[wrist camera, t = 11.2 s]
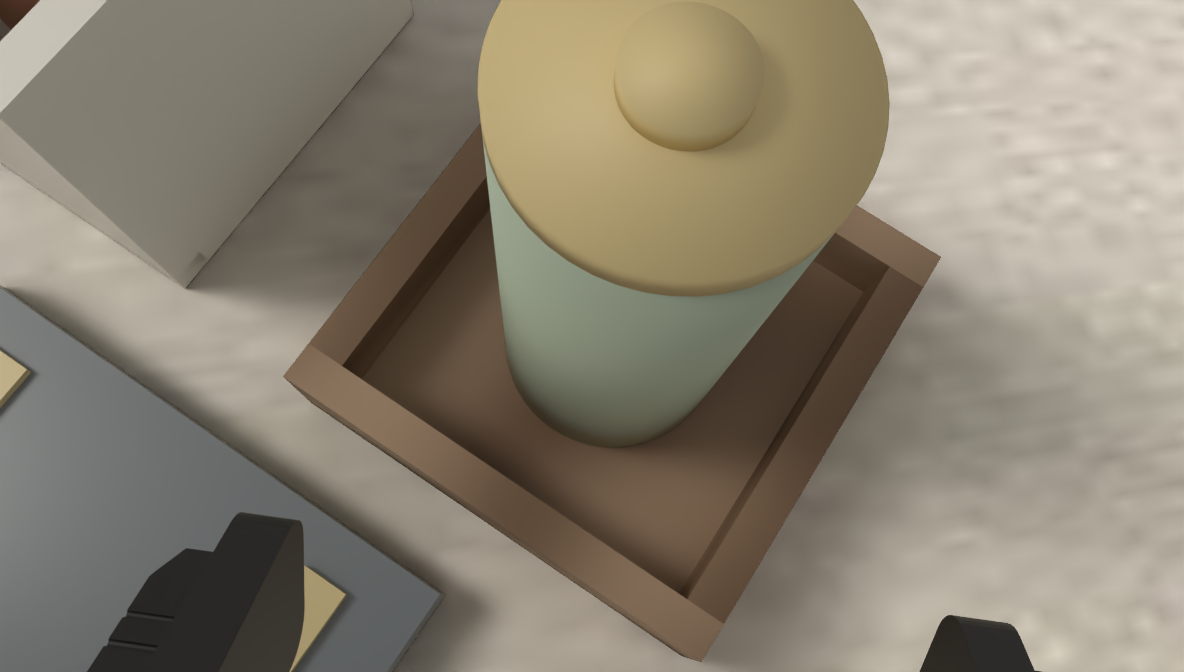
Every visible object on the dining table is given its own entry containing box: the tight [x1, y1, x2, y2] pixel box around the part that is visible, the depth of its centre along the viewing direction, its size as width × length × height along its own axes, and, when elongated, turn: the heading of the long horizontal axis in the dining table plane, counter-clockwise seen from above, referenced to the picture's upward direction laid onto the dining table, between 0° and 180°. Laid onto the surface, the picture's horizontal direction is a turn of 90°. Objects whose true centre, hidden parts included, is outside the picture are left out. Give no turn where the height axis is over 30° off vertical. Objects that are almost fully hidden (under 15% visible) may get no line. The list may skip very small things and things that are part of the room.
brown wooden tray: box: [283, 123, 941, 662], centre depth 21 cm, size 10×10×2 cm
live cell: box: [478, 0, 889, 447], centre depth 16 cm, size 5×5×11 cm
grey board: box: [0, 285, 445, 672], centre depth 19 cm, size 12×9×2 cm
